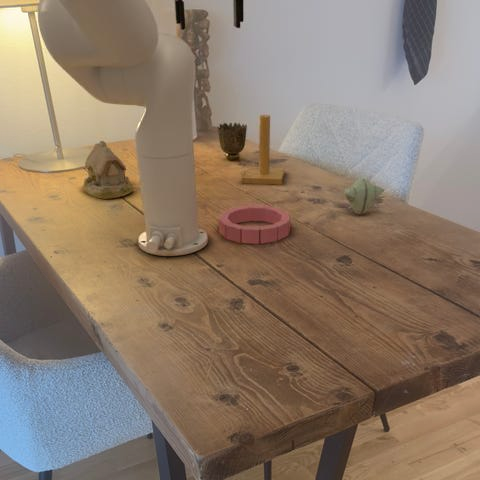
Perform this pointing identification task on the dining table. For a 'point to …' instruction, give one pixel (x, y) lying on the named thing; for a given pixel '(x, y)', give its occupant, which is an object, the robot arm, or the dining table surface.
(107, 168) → the ceramic model
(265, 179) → the stand
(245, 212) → the pink ring
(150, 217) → the robot arm
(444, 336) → the dining table surface
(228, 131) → the cup
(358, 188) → the green seashell
